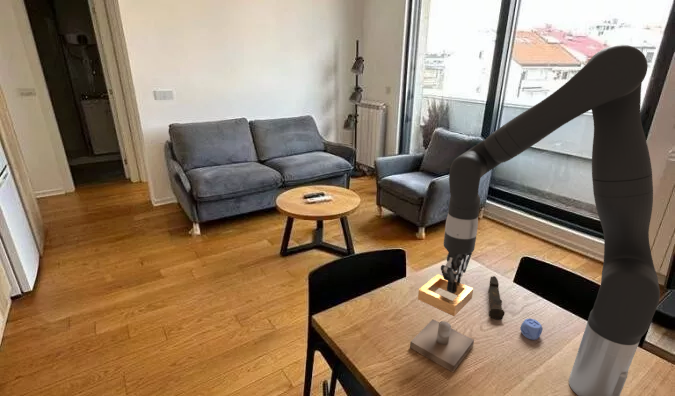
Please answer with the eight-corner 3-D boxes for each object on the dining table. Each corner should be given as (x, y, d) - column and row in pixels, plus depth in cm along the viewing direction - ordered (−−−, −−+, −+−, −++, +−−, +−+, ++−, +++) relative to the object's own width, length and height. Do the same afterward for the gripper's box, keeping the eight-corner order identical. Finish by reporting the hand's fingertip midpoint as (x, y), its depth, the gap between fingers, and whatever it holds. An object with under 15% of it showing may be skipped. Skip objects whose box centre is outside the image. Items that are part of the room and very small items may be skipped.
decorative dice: (532, 342, 99) (535, 330, 98) (519, 333, 102) (521, 321, 101) (541, 336, 101) (544, 324, 100) (527, 328, 104) (530, 316, 103)
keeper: (473, 345, 97) (477, 324, 95) (452, 372, 89) (456, 349, 86) (432, 324, 105) (434, 304, 102) (409, 347, 96) (412, 325, 94)
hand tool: (502, 322, 107) (505, 309, 105) (488, 319, 108) (490, 305, 106) (500, 287, 123) (502, 275, 122) (487, 284, 125) (489, 272, 123)
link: (471, 298, 95) (473, 288, 94) (454, 316, 88) (455, 306, 87) (436, 283, 102) (438, 274, 101) (417, 299, 95) (418, 289, 94)
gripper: (462, 245, 85) (454, 308, 91) (486, 227, 94) (477, 285, 100) (433, 235, 89) (427, 295, 95) (458, 219, 99) (451, 274, 105)
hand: (453, 290), depth 98 cm, fingers closed on link, 1 cm apart
